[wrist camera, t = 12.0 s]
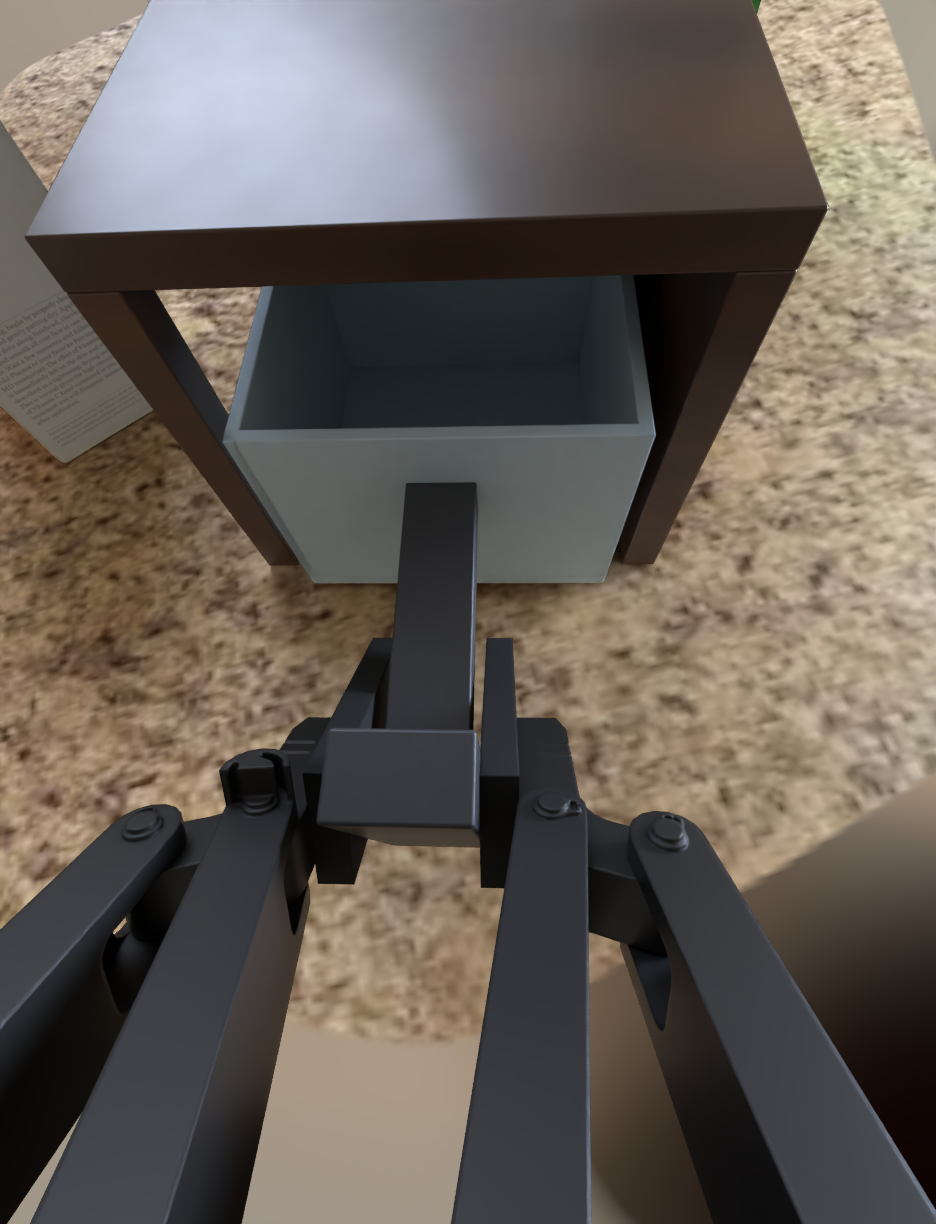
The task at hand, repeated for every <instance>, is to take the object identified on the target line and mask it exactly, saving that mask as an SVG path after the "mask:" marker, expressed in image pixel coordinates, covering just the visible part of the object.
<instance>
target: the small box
mask: <svg viewBox="0 0 936 1224" xmlns="http://www.w3.org/2000/svg"><path fill="white" fill-rule="evenodd" d="M47 193H48V191H47V189H46V188H45V186H44V185H43V183H42V182H41V180H40V179H39V177H38V176H37V174H36V173H35V171H34V170H33V168H32V167H31V165H30V164H29V162H28V161H27V159H26V158H25V156H24V155H23V153H22V152H21V151H20V149H19V148H18V146H17V145H16V143H15V142H14V140H13V139H12V137H11V136H10V134H9V133H8V131H7V130H6V128H5V127H4V125H3V124H2V122H1V121H0V407H1V408H2V409H3V410H4V411H5V412H7V413H8V414H9V415H10V416H11V417H12V418H13V419H14V420H15V421H16V422H17V423H18V424H20V425H21V426H22V427H23V428H24V429H25V430H26V431H27V432H28V433H29V434H30V435H32V436H33V437H34V438H35V439H36V440H37V441H38V442H39V443H40V444H41V445H42V446H43V447H44V448H45V449H46V450H47V451H48V452H50V453H51V454H52V455H53V456H54V457H55V458H56V459H57V460H59V461H60V462H61V463H62V462H64V463H68V462H69V461H71V460H73V459H74V458H76V457H77V456H79V455H81V454H82V453H84V452H85V451H87V450H89V449H90V448H92V447H93V446H95V445H97V444H98V443H100V442H102V441H103V440H105V439H106V438H108V437H110V436H111V435H113V434H115V433H116V432H118V431H120V430H121V429H123V428H125V427H126V426H128V425H130V424H131V423H133V422H134V421H136V420H138V419H140V418H142V417H143V416H145V415H146V414H148V413H150V412H151V411H153V409H152V408H151V406H150V405H149V404H148V402H147V401H146V400H145V398H144V397H143V396H142V394H141V393H140V392H139V390H138V389H137V388H136V386H135V385H134V384H133V382H132V381H131V380H130V378H129V377H128V376H127V374H126V373H125V372H124V370H123V369H122V368H121V366H120V365H119V364H118V362H117V361H116V360H115V358H114V357H113V356H112V354H111V353H110V352H109V350H108V349H107V348H106V346H105V345H104V344H103V342H102V341H101V340H100V338H99V337H98V336H97V334H96V333H95V332H94V330H93V329H92V328H91V326H90V325H89V324H88V322H87V321H86V320H85V318H84V317H83V316H82V314H81V313H80V312H79V310H78V309H77V308H76V306H75V305H74V304H73V302H72V301H71V300H70V298H69V297H68V295H67V293H66V292H65V291H64V290H63V289H62V288H61V286H60V285H59V284H58V282H57V281H56V280H55V278H54V277H53V276H52V274H51V273H50V272H49V270H48V269H47V268H46V266H45V265H44V264H43V262H42V261H41V260H40V258H39V257H38V256H37V254H36V253H35V252H34V250H33V249H32V248H31V246H30V245H29V244H28V242H27V241H26V240H25V237H24V236H25V234H26V232H27V230H28V228H29V226H30V225H31V223H32V221H33V219H34V217H35V215H36V213H37V211H38V210H39V208H40V206H41V204H42V202H43V200H44V198H45V197H46V195H47Z"/></svg>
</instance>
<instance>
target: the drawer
mask: <svg viewBox="0 0 936 1224" xmlns="http://www.w3.org/2000/svg"><path fill="white" fill-rule="evenodd" d="M655 435H656V434H655V427H654V419H653V412H652V405H651V398H650V391H649V383H648V376H647V369H646V362H645V354H644V347H643V340H642V333H641V325H640V318H639V311H638V304H637V297H636V289H635V282H634V275H615V276H584V277H552V278H520V279H489V280H457V281H425V282H394V283H362V284H330V285H298V286H267V287H262V288H261V292H260V296H259V300H258V304H257V308H256V312H255V315H254V319H253V323H252V327H251V331H250V335H249V339H248V343H247V347H246V351H245V354H244V358H243V362H242V366H241V370H240V374H239V378H238V382H237V386H236V390H235V394H234V397H233V401H232V405H231V409H230V413H229V417H228V421H227V425H226V429H225V433H224V437H223V440H222V442H223V444H224V445H225V447H226V448H227V450H228V452H229V453H230V455H231V456H232V458H233V459H234V461H235V462H236V464H237V465H238V467H239V469H240V470H241V472H242V473H243V475H244V476H245V478H246V479H247V481H248V483H249V484H250V486H251V487H252V489H253V490H254V492H255V493H256V495H257V496H258V498H259V500H260V501H261V503H262V504H263V506H264V507H265V509H266V510H267V512H268V514H269V515H270V517H271V518H272V520H273V521H274V523H275V524H276V526H277V527H278V529H279V531H280V532H281V534H282V535H283V537H284V538H285V540H286V541H287V543H288V545H289V546H290V548H291V549H292V551H293V552H294V554H295V555H296V557H297V558H298V560H299V562H300V563H301V565H302V566H303V568H304V569H305V571H306V572H307V574H308V576H310V578H311V580H312V581H313V583H397V592H396V603H395V615H394V626H393V638H392V650H391V661H390V673H389V684H388V696H387V708H386V719H385V729H370V728H332V729H329V731H328V733H327V741H326V749H325V757H324V765H323V773H322V781H321V788H320V796H319V804H318V812H317V824H318V825H320V826H323V827H327V828H331V829H335V830H338V831H342V832H346V833H350V834H353V835H357V836H361V837H365V838H368V839H372V840H376V841H380V842H383V843H387V844H391V845H399V846H437V847H476V848H480V792H479V772H480V755H481V753H480V747H479V741H478V735H477V733H476V731H474V730H473V721H474V676H475V631H476V586H477V583H603V582H604V579H605V576H606V574H607V572H608V569H609V566H610V563H611V560H612V557H613V555H614V552H615V549H616V546H617V543H618V540H619V537H620V535H621V532H622V529H623V526H624V523H625V520H626V518H627V515H628V512H629V509H630V506H631V503H632V501H633V498H634V495H635V492H636V489H637V486H638V483H639V481H640V478H641V475H642V472H643V469H644V466H645V464H646V461H647V458H648V455H649V452H650V449H651V447H652V444H653V441H654V438H655Z"/></svg>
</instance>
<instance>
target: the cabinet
mask: <svg viewBox="0 0 936 1224" xmlns="http://www.w3.org/2000/svg"><path fill="white" fill-rule="evenodd" d="M827 210H828V203H827V201H826V198H825V195H824V192H823V190H822V187H821V184H820V182H819V179H818V176H817V174H816V171H815V168H814V166H813V163H812V160H811V158H810V155H809V152H808V150H807V147H806V144H805V142H804V139H803V136H802V134H801V131H800V128H799V126H798V123H797V120H796V118H795V115H794V112H793V110H792V107H791V104H790V102H789V99H788V96H787V94H786V91H785V88H784V86H783V83H782V80H781V78H780V75H779V72H778V70H777V67H776V64H775V62H774V59H773V56H772V54H771V51H770V48H769V46H768V43H767V40H766V38H765V35H764V32H763V30H762V27H761V24H760V22H759V19H758V16H757V14H756V11H755V8H754V6H753V3H752V0H150V2H149V4H148V6H147V8H146V10H145V12H144V14H143V15H142V17H141V19H140V21H139V23H138V25H137V27H136V28H135V30H134V32H133V34H132V36H131V38H130V40H129V42H128V43H127V45H126V47H125V49H124V51H123V53H122V55H121V56H120V58H119V60H118V62H117V64H116V66H115V68H114V70H113V71H112V73H111V75H110V77H109V79H108V81H107V83H106V84H105V86H104V88H103V90H102V92H101V94H100V96H99V98H98V99H97V101H96V103H95V105H94V107H93V109H92V111H91V112H90V114H89V116H88V118H87V120H86V122H85V124H84V126H83V127H82V129H81V131H80V133H79V135H78V137H77V139H76V140H75V142H74V144H73V146H72V148H71V150H70V152H69V154H68V155H67V157H66V159H65V161H64V163H63V165H62V167H61V168H60V170H59V172H58V174H57V176H56V178H55V180H54V182H53V183H52V185H51V187H50V189H49V191H48V193H47V195H46V197H45V198H44V200H43V202H42V204H41V206H40V208H39V210H38V211H37V213H36V215H35V217H34V219H33V221H32V223H31V225H30V226H29V228H28V230H27V232H26V234H25V236H24V237H25V240H26V241H27V242H28V244H29V245H30V246H31V248H32V249H33V250H34V252H35V253H36V254H37V256H38V257H39V258H40V260H41V261H42V262H43V264H44V265H45V266H46V268H47V269H48V270H49V272H50V273H51V274H52V276H53V277H54V278H55V280H56V281H57V282H58V284H59V285H60V286H61V288H62V289H63V290H64V291H65V292H66V293H67V295H68V297H69V298H70V300H71V301H72V302H73V304H74V305H75V306H76V308H77V309H78V310H79V312H80V313H81V314H82V316H83V317H84V318H85V320H86V321H87V322H88V324H89V325H90V326H91V328H92V329H93V330H94V332H95V333H96V334H97V336H98V337H99V338H100V340H101V341H102V342H103V344H104V345H105V346H106V348H107V349H108V350H109V352H110V353H111V354H112V356H113V357H114V358H115V360H116V361H117V362H118V364H119V365H120V366H121V368H122V369H123V370H124V372H125V373H126V374H127V376H128V377H129V378H130V380H131V381H132V382H133V384H134V385H135V386H136V388H137V389H138V390H139V392H140V393H141V394H142V396H143V397H144V398H145V400H146V401H147V402H148V404H149V405H150V406H151V408H152V409H153V410H154V412H155V413H156V414H157V416H158V417H159V418H160V420H161V421H162V422H163V424H164V425H165V426H166V428H167V429H168V430H169V432H170V433H171V434H172V436H173V437H174V438H175V440H176V441H177V442H178V444H179V445H180V446H181V448H182V449H183V450H184V452H185V453H186V454H187V456H188V457H189V458H190V460H191V461H192V462H193V464H194V465H195V466H196V468H197V469H198V470H199V472H200V473H201V474H202V476H203V477H204V478H205V480H206V481H207V482H208V484H209V485H210V486H211V488H212V489H213V490H214V492H215V493H216V494H217V496H218V497H219V498H220V500H221V501H222V502H223V504H224V505H225V506H226V508H227V509H228V510H229V512H230V513H231V514H232V516H233V517H234V518H235V520H236V521H237V522H238V524H239V525H240V526H241V528H242V529H243V530H244V532H245V533H246V534H247V536H248V537H249V538H250V540H251V541H252V542H253V544H254V545H255V546H256V548H257V549H258V550H259V552H260V553H261V554H262V556H263V557H264V558H265V560H266V561H267V562H268V564H269V565H299V560H298V558H297V557H296V555H295V554H294V552H293V551H292V549H291V548H290V546H289V545H288V543H287V541H286V540H285V538H284V537H283V535H282V534H281V532H280V531H279V529H278V527H277V526H276V524H275V523H274V521H273V520H272V518H271V517H270V515H269V514H268V512H267V510H266V509H265V507H264V506H263V504H262V503H261V501H260V500H259V498H258V496H257V495H256V493H255V492H254V490H253V489H252V487H251V486H250V484H249V483H248V481H247V479H246V478H245V476H244V475H243V473H242V472H241V470H240V469H239V467H238V465H237V464H236V462H235V461H234V459H233V458H232V456H231V455H230V453H229V452H228V450H227V448H226V447H225V445H224V444H223V442H222V440H223V437H224V433H225V429H226V425H227V421H228V417H229V415H228V413H227V412H226V410H225V408H224V407H223V405H222V403H221V401H220V400H219V398H218V396H217V395H216V393H215V391H214V390H213V388H212V386H211V385H210V383H209V381H208V380H207V378H206V376H205V375H204V373H203V371H202V369H201V368H200V366H199V364H198V363H197V361H196V359H195V358H194V356H193V354H192V353H191V351H190V349H189V348H188V346H187V344H186V343H185V341H184V339H183V337H182V336H181V334H180V332H179V331H178V329H177V327H176V326H175V324H174V322H173V321H172V319H171V317H170V316H169V314H168V312H167V311H166V309H165V307H164V305H163V304H162V302H161V300H160V299H159V297H158V295H157V294H156V292H155V290H172V289H203V288H235V287H267V286H298V285H330V284H362V283H394V282H425V281H457V280H489V279H520V278H552V277H584V276H615V275H634V282H635V289H636V297H637V304H638V311H639V318H640V325H641V333H642V340H643V347H644V354H645V362H646V369H647V376H648V383H649V391H650V398H651V405H652V412H653V419H654V427H655V434H656V435H655V438H654V441H653V444H652V447H651V449H650V452H649V455H648V458H647V461H646V464H645V466H644V469H643V472H642V475H641V478H640V481H639V483H638V486H637V489H636V492H635V495H634V498H633V501H632V503H631V506H630V509H629V512H628V515H627V518H626V520H625V523H624V526H623V529H622V532H621V535H620V548H621V558H622V564H654V562H655V560H656V558H657V556H658V554H659V552H660V549H661V547H662V545H663V543H664V541H665V539H666V537H667V535H668V533H669V531H670V529H671V527H672V525H673V523H674V521H675V519H676V517H677V515H678V513H679V511H680V509H681V507H682V505H683V503H684V501H685V499H686V497H687V495H688V493H689V490H690V488H691V486H692V484H693V482H694V480H695V478H696V476H697V474H698V472H699V470H700V468H701V466H702V464H703V462H704V460H705V458H706V456H707V454H708V452H709V450H710V448H711V446H712V444H713V442H714V440H715V438H716V436H717V434H718V431H719V429H720V427H721V425H722V423H723V421H724V419H725V417H726V415H727V413H728V411H729V409H730V407H731V405H732V403H733V401H734V399H735V397H736V395H737V393H738V391H739V389H740V387H741V385H742V383H743V381H744V379H745V377H746V374H747V372H748V370H749V368H750V366H751V364H752V362H753V360H754V358H755V356H756V354H757V352H758V350H759V348H760V346H761V344H762V342H763V340H764V338H765V336H766V334H767V332H768V330H769V328H770V326H771V324H772V322H773V320H774V318H775V315H776V313H777V311H778V309H779V307H780V305H781V303H782V301H783V299H784V297H785V295H786V293H787V291H788V289H789V287H790V285H791V283H792V281H793V279H794V277H795V275H796V272H797V269H798V268H799V267H800V265H801V263H802V261H803V259H804V257H805V255H806V253H807V251H808V249H809V247H810V245H811V243H812V240H813V238H814V236H815V234H816V232H817V230H818V228H819V226H820V224H821V222H822V220H823V218H824V216H825V214H826V212H827Z"/></svg>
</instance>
